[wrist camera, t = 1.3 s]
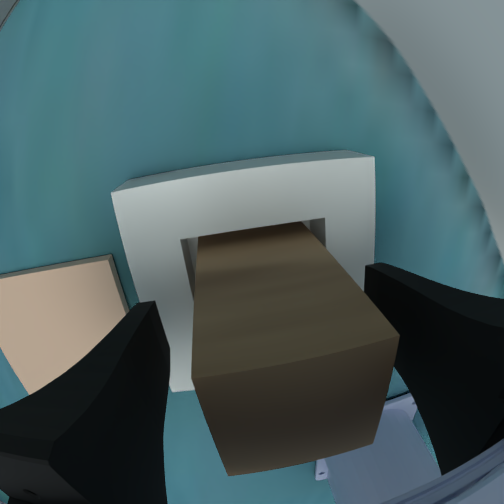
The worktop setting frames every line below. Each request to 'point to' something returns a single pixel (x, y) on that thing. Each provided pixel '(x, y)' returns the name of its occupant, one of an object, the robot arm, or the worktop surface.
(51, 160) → the worktop surface
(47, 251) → the worktop surface
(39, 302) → the pad
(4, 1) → the emergency button
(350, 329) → the peg
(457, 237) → the worktop surface
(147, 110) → the worktop surface
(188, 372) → the pocket block
